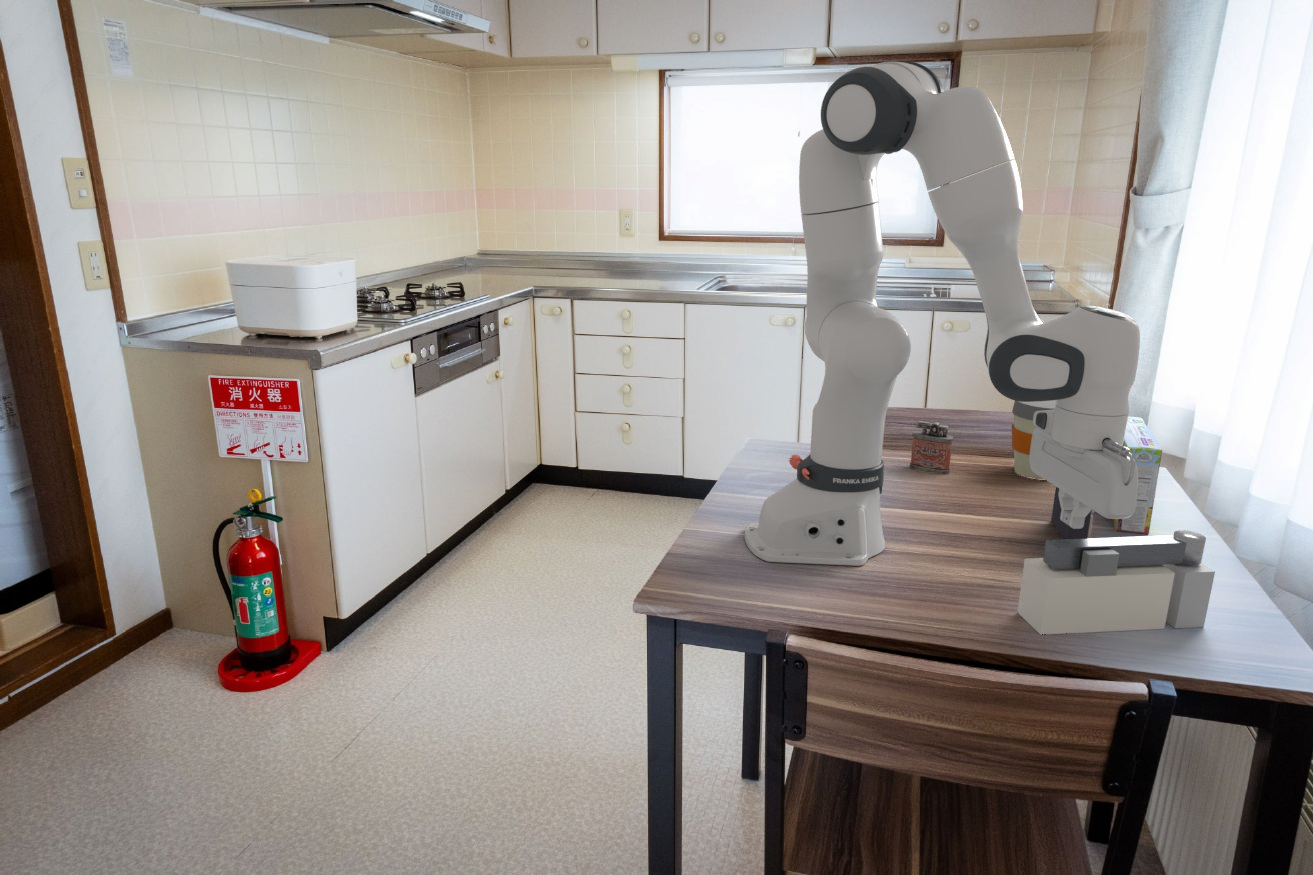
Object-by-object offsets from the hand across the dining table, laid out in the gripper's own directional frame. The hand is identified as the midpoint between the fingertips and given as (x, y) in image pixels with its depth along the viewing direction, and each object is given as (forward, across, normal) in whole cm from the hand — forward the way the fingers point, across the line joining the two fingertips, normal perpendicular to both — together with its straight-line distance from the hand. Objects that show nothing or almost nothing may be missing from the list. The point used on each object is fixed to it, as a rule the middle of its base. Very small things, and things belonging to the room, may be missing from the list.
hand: (1071, 524), depth 119 cm
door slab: (+11, -8, 0) cm, 13 cm away
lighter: (+11, +55, -3) cm, 56 cm away
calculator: (+11, +21, -13) cm, 27 cm away
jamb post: (+10, -8, -12) cm, 18 cm away
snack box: (+10, +30, -29) cm, 43 cm away
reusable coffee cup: (+10, +51, -24) cm, 57 cm away
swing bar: (+2, -8, -3) cm, 9 cm away
